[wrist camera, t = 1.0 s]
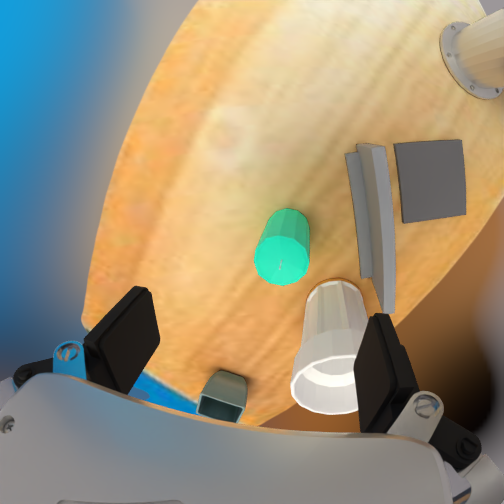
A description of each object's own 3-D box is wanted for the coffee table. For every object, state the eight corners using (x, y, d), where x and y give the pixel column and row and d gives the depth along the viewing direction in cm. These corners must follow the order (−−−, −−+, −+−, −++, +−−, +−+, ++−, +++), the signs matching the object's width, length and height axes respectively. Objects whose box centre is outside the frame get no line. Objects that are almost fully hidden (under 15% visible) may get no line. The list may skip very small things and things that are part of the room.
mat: (459, 139, 28) (461, 140, 27) (463, 213, 32) (466, 214, 31) (393, 143, 31) (395, 144, 30) (402, 221, 35) (403, 223, 34)
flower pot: (213, 360, 53) (199, 393, 45) (254, 374, 52) (245, 408, 44) (208, 383, 57) (195, 413, 49) (245, 395, 56) (236, 427, 48)
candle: (308, 207, 37) (308, 240, 26) (310, 247, 39) (309, 293, 28) (265, 209, 38) (247, 242, 27) (269, 248, 40) (253, 293, 30)
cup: (342, 338, 45) (347, 422, 29) (286, 312, 44) (272, 398, 29) (382, 291, 40) (409, 374, 24) (323, 258, 39) (328, 340, 24)
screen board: (379, 141, 31) (400, 145, 23) (391, 276, 38) (407, 310, 30) (343, 146, 32) (354, 150, 24) (360, 281, 40) (370, 317, 32)
